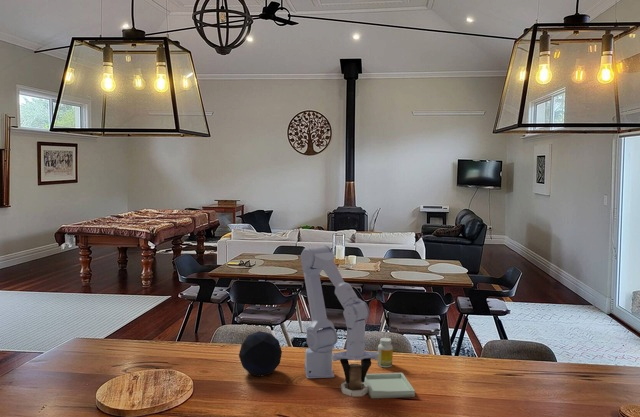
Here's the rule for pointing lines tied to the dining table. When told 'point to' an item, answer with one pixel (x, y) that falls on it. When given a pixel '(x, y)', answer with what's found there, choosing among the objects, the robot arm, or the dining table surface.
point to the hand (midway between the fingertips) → (354, 381)
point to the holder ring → (354, 392)
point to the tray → (388, 385)
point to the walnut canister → (355, 377)
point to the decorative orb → (260, 353)
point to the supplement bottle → (385, 353)
